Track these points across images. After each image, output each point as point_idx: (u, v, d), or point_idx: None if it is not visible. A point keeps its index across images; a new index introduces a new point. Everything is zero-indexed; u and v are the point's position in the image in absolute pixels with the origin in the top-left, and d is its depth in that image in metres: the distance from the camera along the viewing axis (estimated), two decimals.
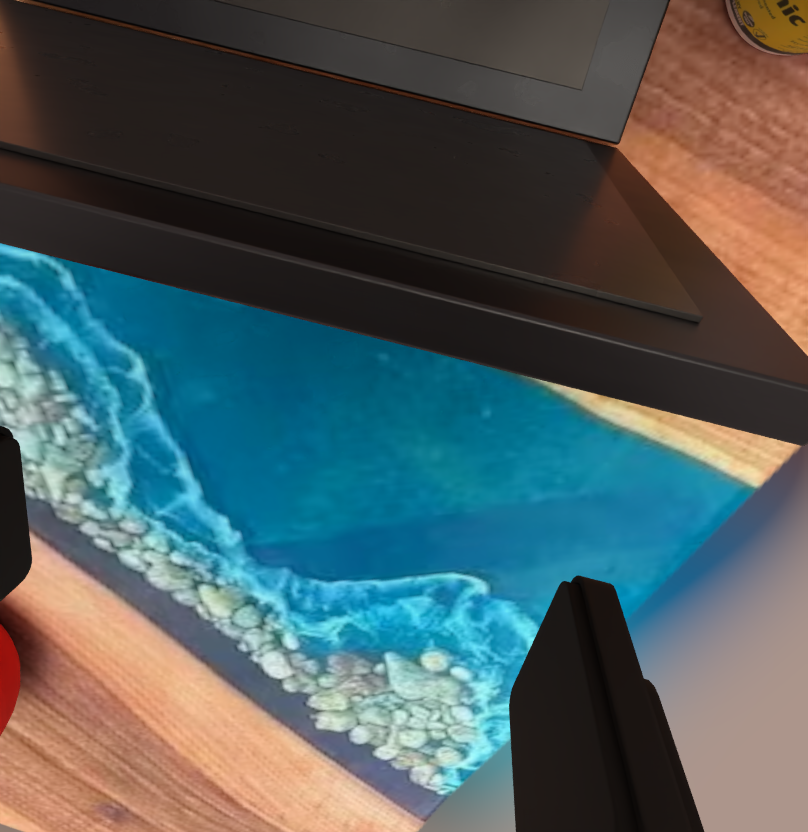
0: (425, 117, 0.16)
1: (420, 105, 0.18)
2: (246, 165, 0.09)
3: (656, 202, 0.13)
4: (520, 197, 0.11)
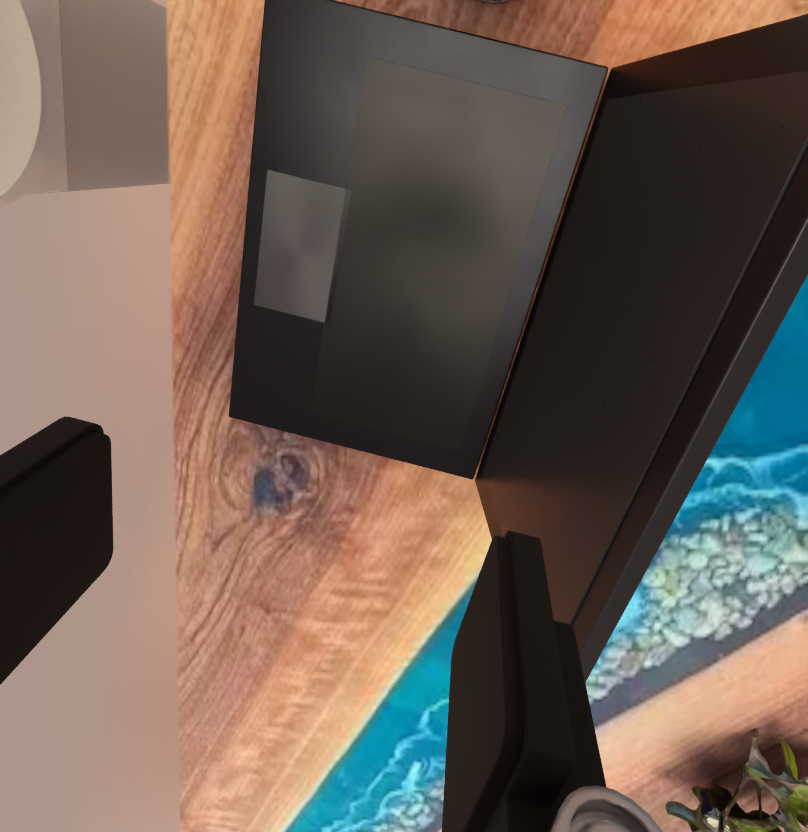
0: (592, 225, 0.25)
1: (573, 228, 0.27)
2: (677, 325, 0.17)
3: (699, 54, 0.19)
4: (702, 167, 0.17)
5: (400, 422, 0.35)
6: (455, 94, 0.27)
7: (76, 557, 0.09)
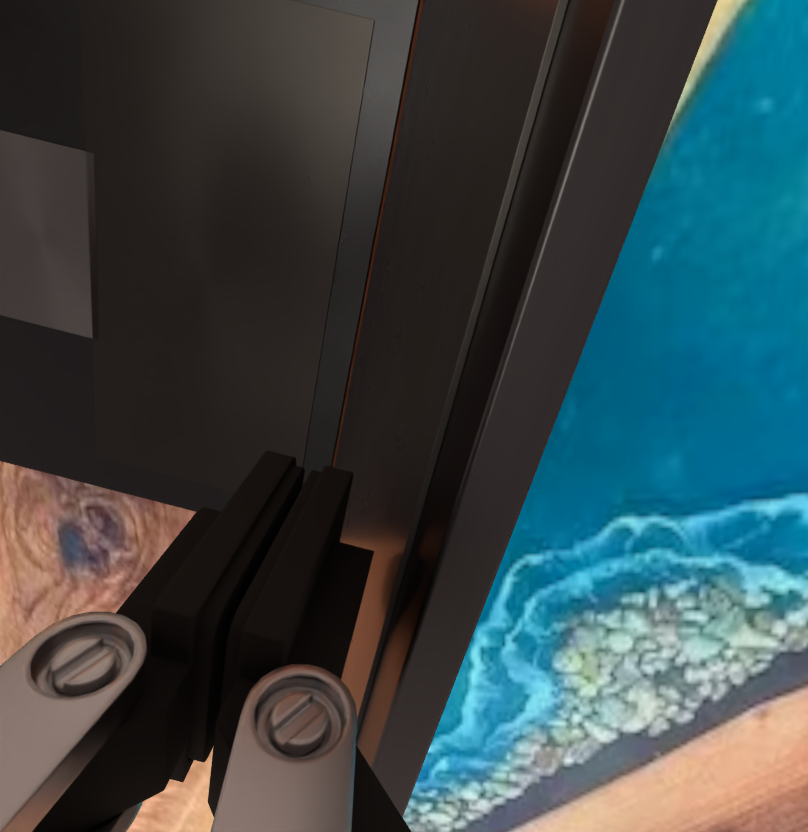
0: (396, 197, 0.16)
1: (387, 204, 0.18)
2: (420, 380, 0.09)
3: None
4: (468, 61, 0.09)
5: (213, 470, 0.27)
6: (212, 6, 0.19)
7: None
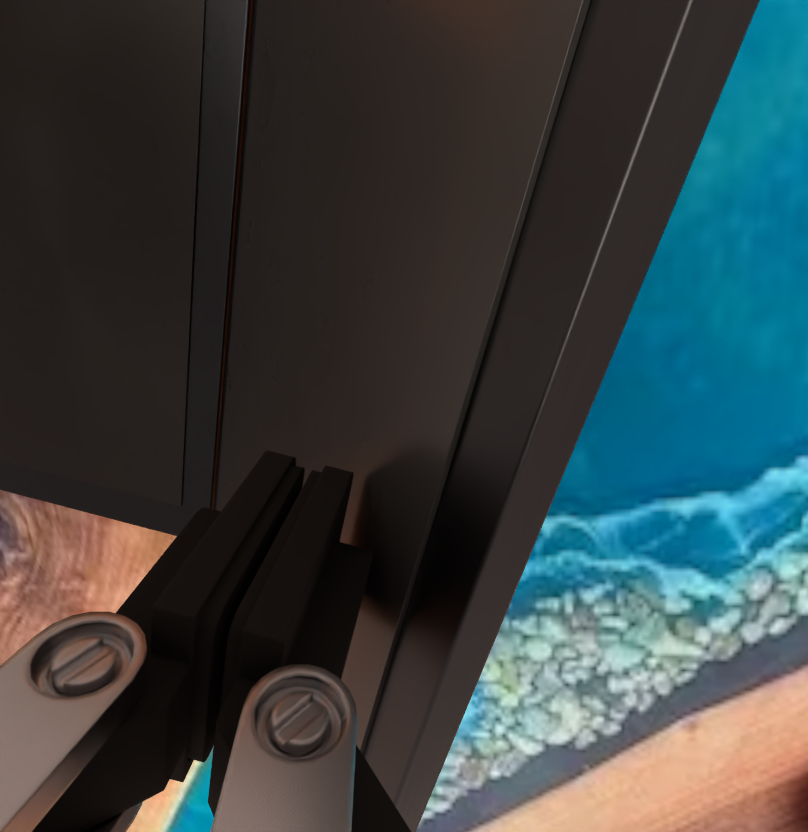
0: (270, 171, 0.15)
1: (251, 176, 0.17)
2: (399, 378, 0.09)
3: None
4: (398, 40, 0.08)
5: (91, 466, 0.25)
6: None
7: None
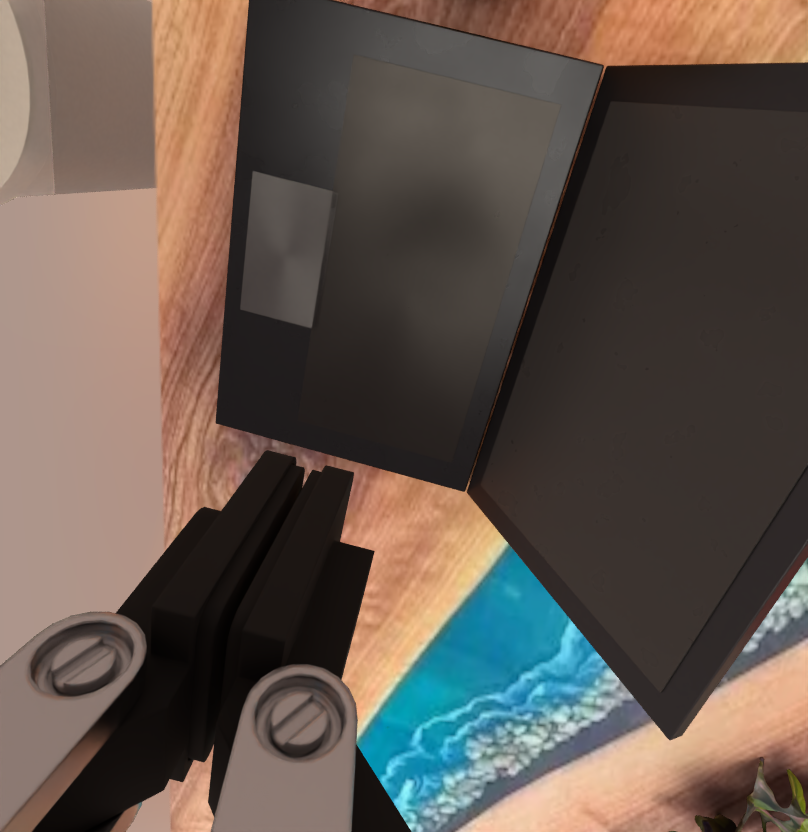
0: (619, 237, 0.24)
1: (583, 236, 0.26)
2: (803, 359, 0.18)
3: (768, 75, 0.19)
4: None
5: (389, 431, 0.34)
6: (444, 93, 0.26)
7: None
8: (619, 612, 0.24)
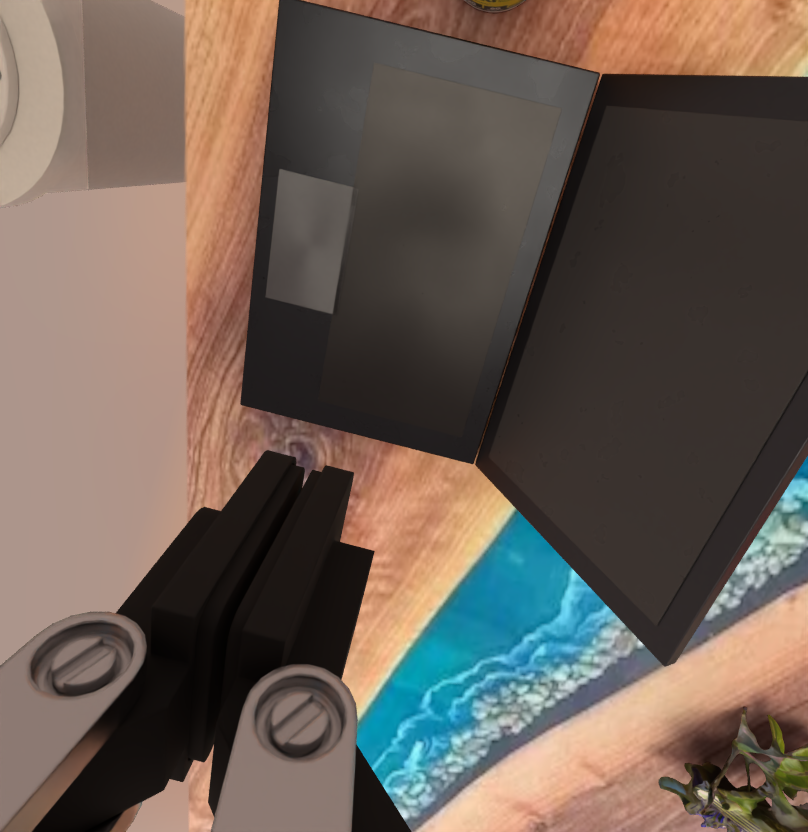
0: (615, 227, 0.27)
1: (582, 227, 0.29)
2: (775, 330, 0.21)
3: (744, 86, 0.22)
4: (778, 193, 0.21)
5: (404, 409, 0.37)
6: (456, 98, 0.29)
7: None
8: (619, 559, 0.28)
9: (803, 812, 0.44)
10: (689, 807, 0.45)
